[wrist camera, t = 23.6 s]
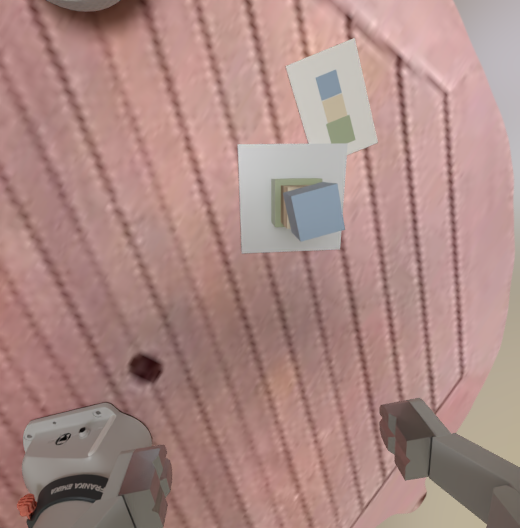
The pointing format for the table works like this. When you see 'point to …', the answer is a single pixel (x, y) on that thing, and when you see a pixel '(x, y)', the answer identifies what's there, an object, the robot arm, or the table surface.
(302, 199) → the slate blue block
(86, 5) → the cereal bowl
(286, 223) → the beech block
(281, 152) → the build plate
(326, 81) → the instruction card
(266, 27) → the table surface
